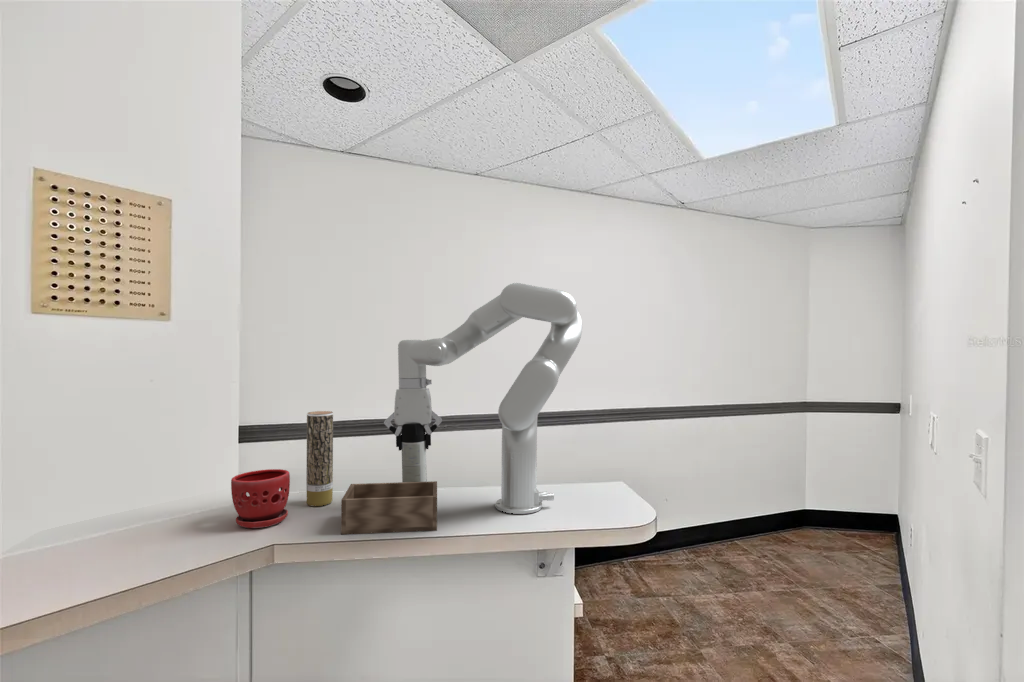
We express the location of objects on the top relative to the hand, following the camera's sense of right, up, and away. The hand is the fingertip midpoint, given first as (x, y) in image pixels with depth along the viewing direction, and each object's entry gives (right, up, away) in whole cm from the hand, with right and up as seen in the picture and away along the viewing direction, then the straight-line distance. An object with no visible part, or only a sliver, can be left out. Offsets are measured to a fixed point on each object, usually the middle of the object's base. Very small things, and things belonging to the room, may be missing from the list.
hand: (413, 448), depth 147 cm
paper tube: (-26, -15, -1) cm, 30 cm away
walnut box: (-3, -15, -15) cm, 22 cm away
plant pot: (-35, -15, -16) cm, 41 cm away
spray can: (0, -13, 0) cm, 13 cm away
